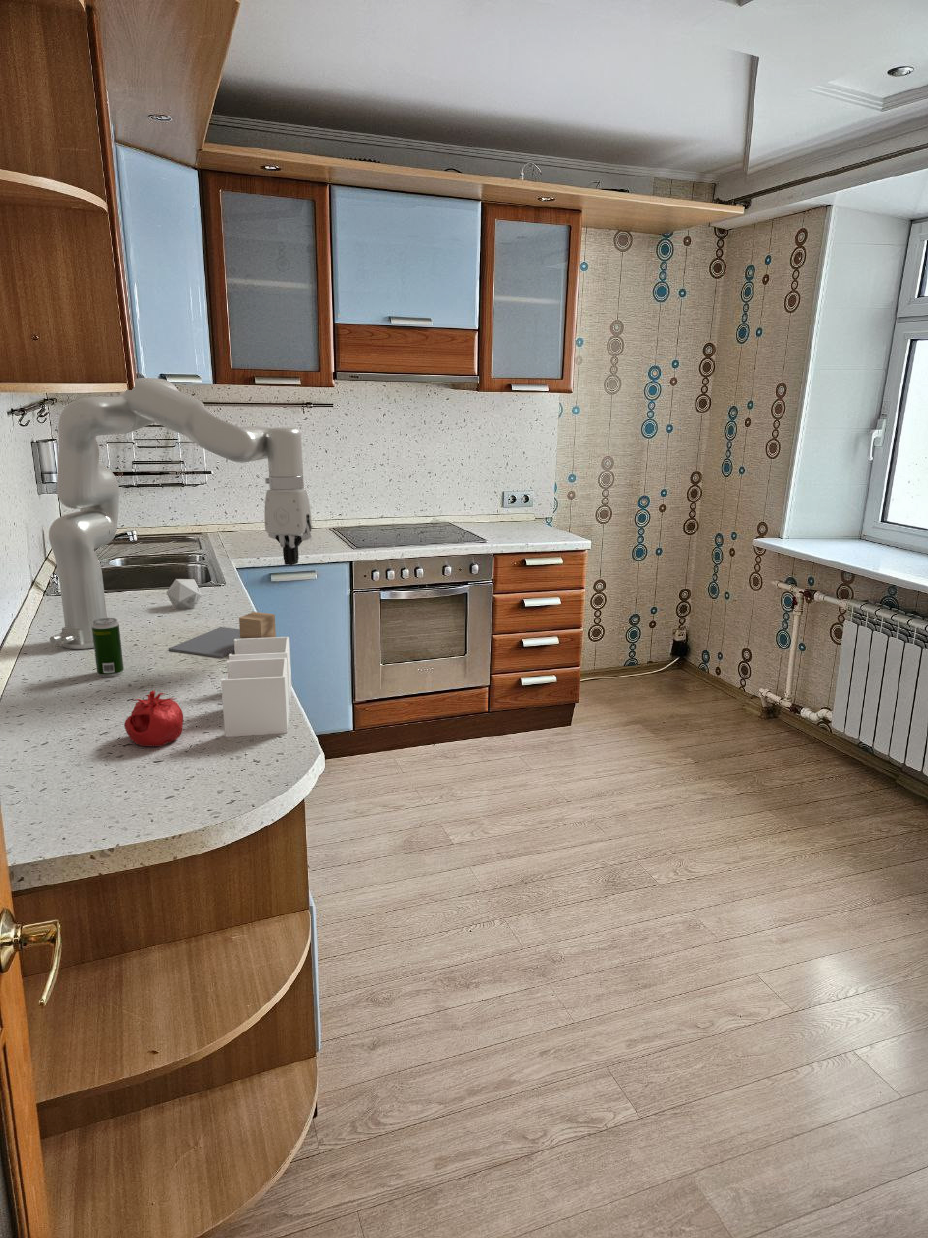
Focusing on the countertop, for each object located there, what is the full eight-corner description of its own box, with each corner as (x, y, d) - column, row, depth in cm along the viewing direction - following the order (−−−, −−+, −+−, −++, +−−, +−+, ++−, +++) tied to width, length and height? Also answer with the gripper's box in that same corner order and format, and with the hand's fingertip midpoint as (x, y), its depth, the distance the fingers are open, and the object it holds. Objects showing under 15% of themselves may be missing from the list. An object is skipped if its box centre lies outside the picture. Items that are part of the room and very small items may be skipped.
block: (262, 652, 191) (260, 620, 189) (241, 649, 193) (238, 617, 191) (276, 645, 196) (274, 614, 194) (255, 643, 198) (253, 611, 196)
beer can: (125, 675, 175) (119, 622, 172) (98, 679, 172) (92, 625, 169) (122, 668, 179) (116, 616, 176) (96, 671, 177) (89, 619, 174)
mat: (221, 657, 187) (220, 655, 187) (168, 650, 192) (168, 648, 192) (269, 634, 205) (269, 633, 205) (220, 628, 210) (220, 626, 210)
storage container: (287, 734, 146) (284, 677, 143) (225, 737, 144) (221, 680, 141) (291, 686, 170) (288, 636, 167) (237, 689, 168) (234, 639, 165)
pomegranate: (175, 723, 150) (171, 676, 147) (193, 742, 142) (189, 692, 140) (119, 736, 144) (114, 687, 142) (135, 756, 136) (129, 705, 134)
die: (182, 615, 224) (202, 585, 225) (156, 598, 224) (176, 568, 225) (192, 618, 233) (211, 589, 234) (166, 602, 233) (186, 573, 234)
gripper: (248, 484, 180) (254, 564, 185) (306, 486, 175) (311, 569, 180) (267, 481, 187) (272, 558, 191) (324, 483, 181) (328, 563, 186)
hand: (291, 563), depth 186 cm, fingers closed
